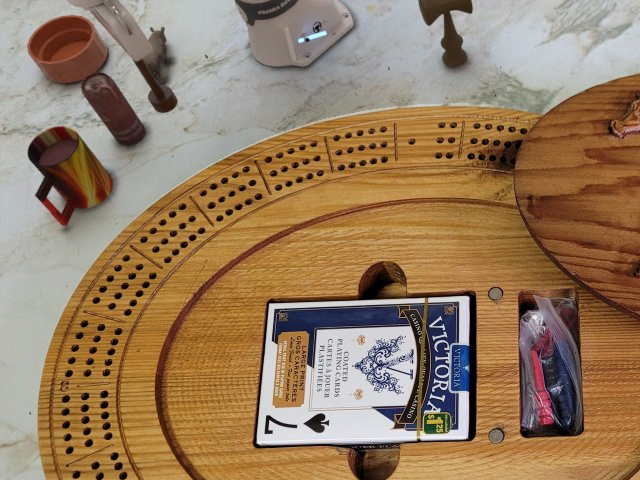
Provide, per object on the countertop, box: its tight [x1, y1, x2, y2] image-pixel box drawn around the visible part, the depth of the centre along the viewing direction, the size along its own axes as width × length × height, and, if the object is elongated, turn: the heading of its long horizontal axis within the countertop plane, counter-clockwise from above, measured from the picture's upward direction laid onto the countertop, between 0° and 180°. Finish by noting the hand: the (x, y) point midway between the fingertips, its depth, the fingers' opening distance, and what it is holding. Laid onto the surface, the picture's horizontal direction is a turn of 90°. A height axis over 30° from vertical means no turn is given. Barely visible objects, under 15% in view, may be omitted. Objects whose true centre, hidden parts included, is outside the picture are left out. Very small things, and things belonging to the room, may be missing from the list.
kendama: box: [417, 0, 474, 68], centre depth 159 cm, size 6×10×20 cm, turn 110°
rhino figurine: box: [143, 26, 172, 85], centre depth 172 cm, size 4×14×6 cm, turn 1°
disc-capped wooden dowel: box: [131, 58, 179, 114], centre depth 142 cm, size 4×4×16 cm
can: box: [80, 71, 146, 147], centre depth 160 cm, size 6×6×14 cm
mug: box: [27, 125, 114, 227], centre depth 154 cm, size 10×14×12 cm
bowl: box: [26, 14, 109, 84], centre depth 174 cm, size 14×14×6 cm
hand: (132, 50), depth 138 cm, fingers closed on disc-capped wooden dowel, 2 cm apart
